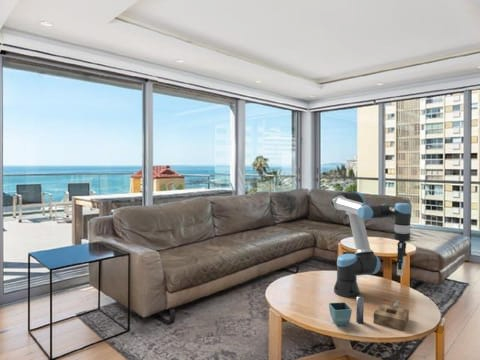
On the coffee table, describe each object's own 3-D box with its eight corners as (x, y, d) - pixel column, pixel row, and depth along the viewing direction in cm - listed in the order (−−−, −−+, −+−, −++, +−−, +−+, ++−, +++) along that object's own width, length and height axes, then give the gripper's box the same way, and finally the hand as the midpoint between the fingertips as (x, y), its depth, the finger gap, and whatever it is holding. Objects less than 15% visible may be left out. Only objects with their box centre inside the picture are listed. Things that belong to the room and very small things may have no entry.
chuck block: (373, 322, 168) (373, 313, 168) (384, 304, 189) (384, 295, 189) (404, 330, 160) (404, 320, 160) (411, 310, 181) (411, 301, 181)
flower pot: (328, 319, 172) (328, 302, 171) (344, 318, 172) (345, 301, 172) (334, 328, 163) (334, 310, 162) (351, 327, 164) (352, 309, 163)
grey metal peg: (355, 322, 168) (355, 297, 168) (357, 319, 171) (357, 295, 170) (362, 324, 167) (362, 299, 166) (364, 321, 169) (364, 296, 169)
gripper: (408, 238, 164) (406, 280, 165) (411, 228, 185) (410, 265, 186) (391, 236, 167) (390, 277, 169) (396, 227, 189) (395, 263, 190)
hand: (401, 271), depth 178 cm, fingers open, 13 cm apart
